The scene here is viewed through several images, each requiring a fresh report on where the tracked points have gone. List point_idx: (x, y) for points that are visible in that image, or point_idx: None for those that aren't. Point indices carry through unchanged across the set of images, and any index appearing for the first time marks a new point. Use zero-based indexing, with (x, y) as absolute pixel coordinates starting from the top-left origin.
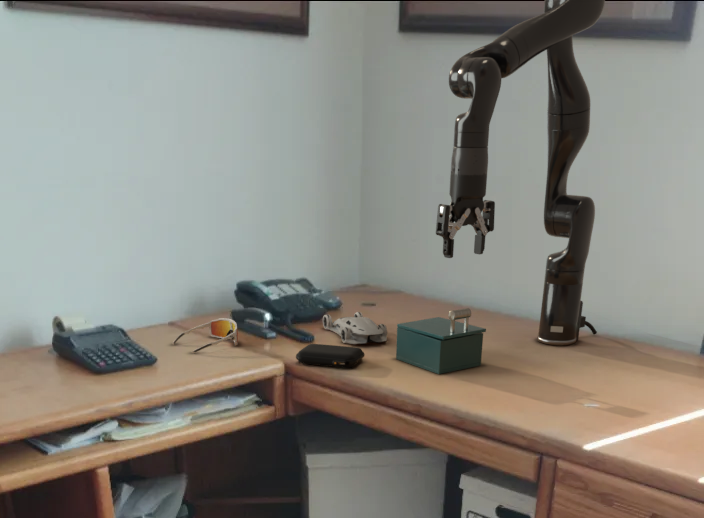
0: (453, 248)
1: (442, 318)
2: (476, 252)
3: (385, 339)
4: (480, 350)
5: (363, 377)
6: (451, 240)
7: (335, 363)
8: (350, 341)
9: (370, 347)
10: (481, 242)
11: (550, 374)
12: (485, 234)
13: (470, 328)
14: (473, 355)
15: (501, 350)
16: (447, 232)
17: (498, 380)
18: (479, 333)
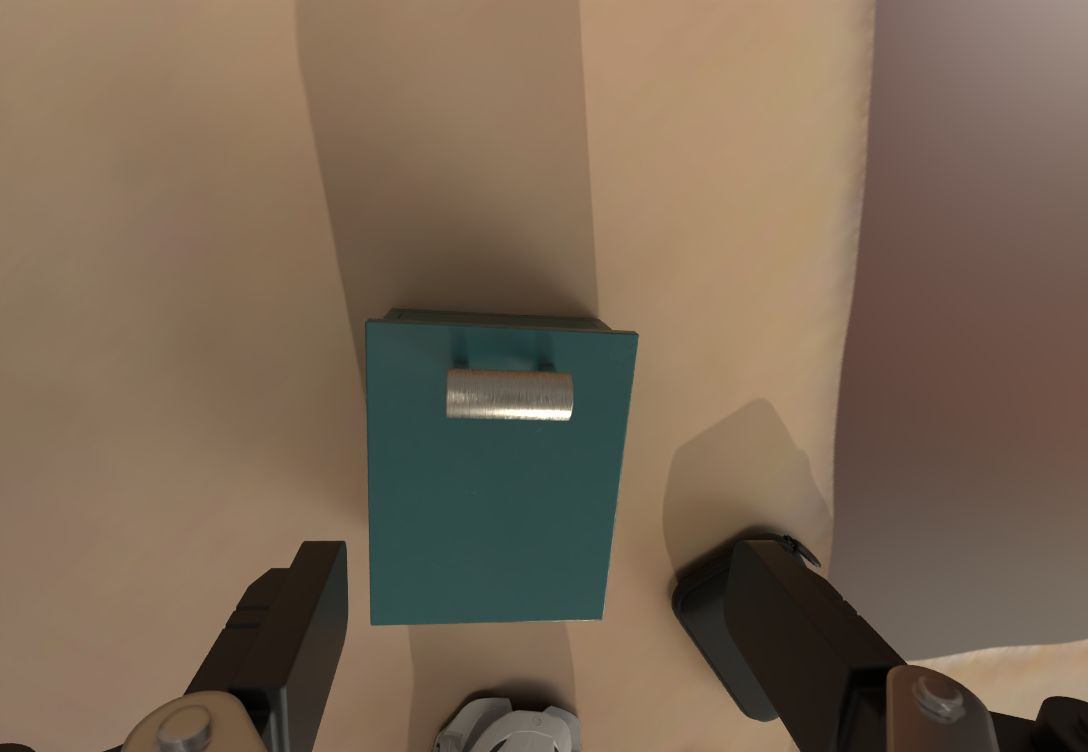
0: (788, 587)
1: (381, 594)
2: (345, 599)
3: (467, 711)
4: (392, 319)
5: (802, 440)
6: (883, 658)
7: (815, 557)
8: (576, 740)
9: (542, 684)
10: (309, 621)
11: (228, 20)
12: (199, 700)
13: (424, 373)
14: (432, 318)
15: (158, 420)
16: (1074, 747)
17: (481, 113)
18: None
